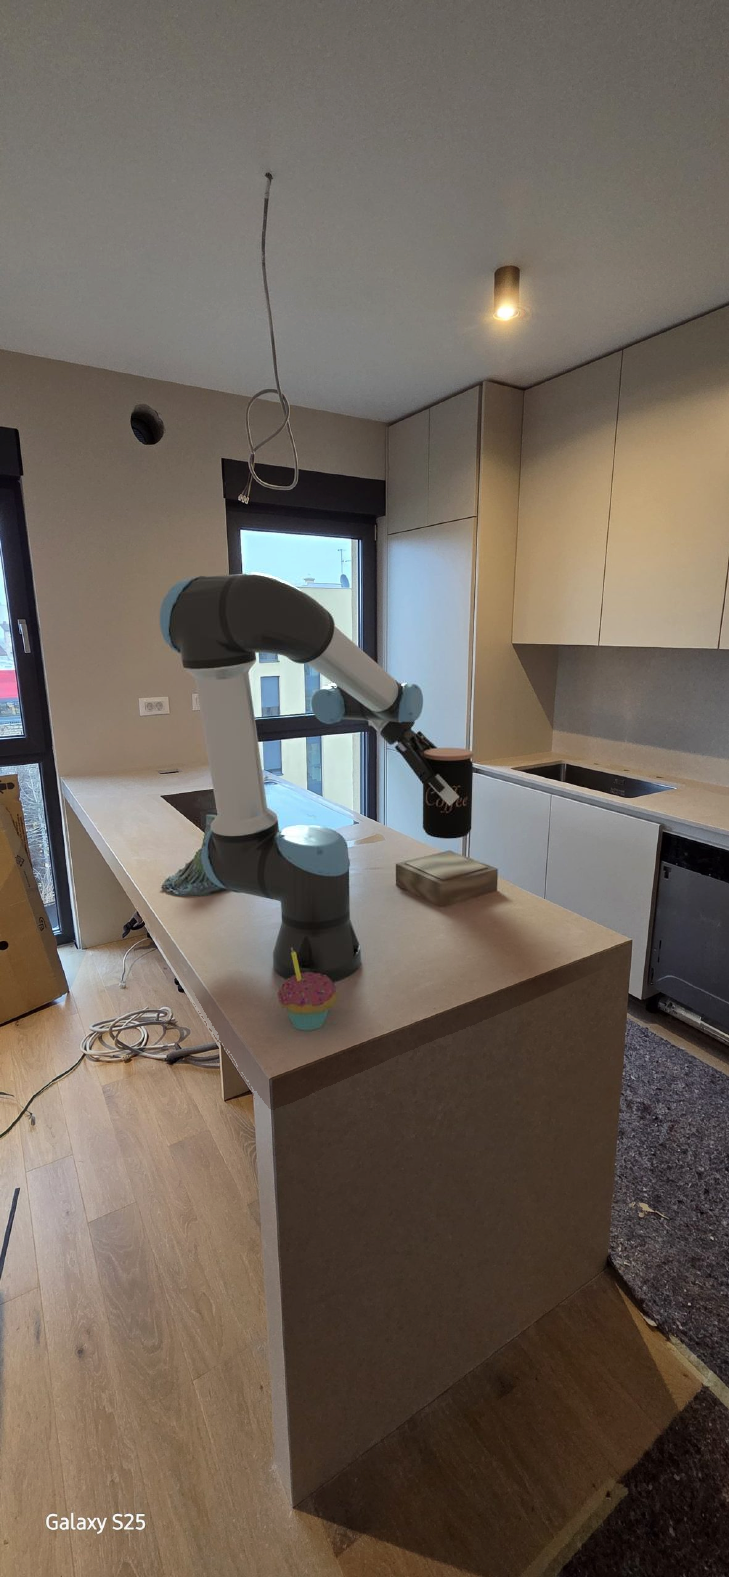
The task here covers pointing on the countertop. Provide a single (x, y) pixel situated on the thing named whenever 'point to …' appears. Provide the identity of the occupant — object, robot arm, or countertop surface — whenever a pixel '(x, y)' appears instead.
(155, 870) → the countertop surface
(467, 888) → the wooden tray
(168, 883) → the tree stump
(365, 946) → the countertop surface
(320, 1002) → the cupcake
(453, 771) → the coffee jar
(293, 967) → the robot arm
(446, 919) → the countertop surface
